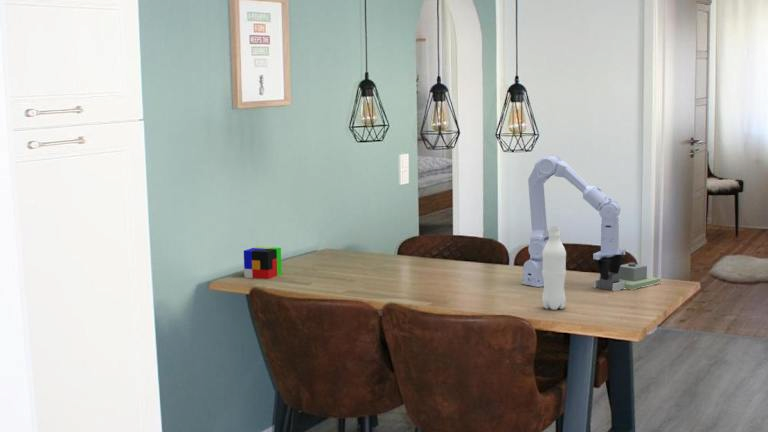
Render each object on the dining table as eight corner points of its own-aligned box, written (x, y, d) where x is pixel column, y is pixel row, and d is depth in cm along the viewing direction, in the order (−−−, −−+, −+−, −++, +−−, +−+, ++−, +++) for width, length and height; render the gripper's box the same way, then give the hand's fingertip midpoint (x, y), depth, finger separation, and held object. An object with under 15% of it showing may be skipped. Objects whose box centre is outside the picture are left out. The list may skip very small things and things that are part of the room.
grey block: (611, 291, 316) (611, 275, 315) (599, 288, 319) (599, 272, 319) (618, 289, 318) (619, 273, 317) (606, 287, 322) (607, 271, 321)
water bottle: (551, 311, 287) (552, 229, 283) (537, 307, 293) (537, 226, 290) (570, 308, 290) (571, 227, 287) (556, 304, 296) (556, 224, 293)
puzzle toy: (244, 277, 349) (243, 250, 348) (258, 272, 359) (257, 246, 357) (268, 279, 346) (267, 252, 344) (281, 274, 355) (280, 247, 354)
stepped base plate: (621, 292, 312) (621, 271, 311) (589, 286, 322) (589, 265, 321) (660, 283, 325) (660, 262, 324) (628, 278, 335) (629, 258, 334)
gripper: (605, 241, 309) (605, 283, 311) (633, 237, 318) (632, 277, 320) (588, 239, 314) (587, 279, 316) (616, 234, 323) (615, 274, 325)
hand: (609, 278), depth 318 cm, fingers open, 4 cm apart
